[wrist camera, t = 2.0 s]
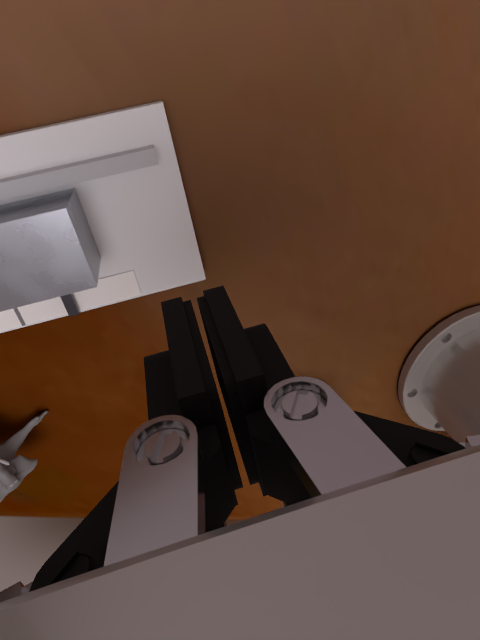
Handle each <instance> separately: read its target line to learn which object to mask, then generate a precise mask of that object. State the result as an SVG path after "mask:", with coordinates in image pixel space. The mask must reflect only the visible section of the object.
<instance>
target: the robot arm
mask: <svg viewBox="0 0 480 640" xmlns="http://www.w3.org/2000/svg"><path fill="white" fill-rule="evenodd" d="M203 293H204V296H203V297H199V298H197V301H198V305H199V309H200V313H201V316H202V320H203V324H204V328H205V332H206V336H207V339H208V343H209V347H210V351H211V355H212V359H213V362H214V366H215V370H216V374H217V378H218V381H219V385H220V388H221V392H222V395H223V398H224V401H225V404H226V408H227V411H228V414H229V417H230V421H231V424H232V427H233V430H234V434H235V437H236V440H237V443H238V447H239V450H240V453H241V456H242V460H243V463H244V466H245V469H246V473H247V476H248V479H249V482H250V485H252V484H255V483H258V482H259V484H260V487H261V490H262V493H263V496H266V495H269V496H271V497H274V498H276V499H279V500H281V501H283V505H284V507H283V508H280V509H277V510H274V511H271V512H268V513H264V514H261V515H258V516H255V517H252V518H249V519H246V520H243V521H240V522H238V523H234V524H231V525H228V526H227V523H226V520H227V518H228V517H229V515H230V513H231V512H232V510H233V509H234V507H235V506H236V505H238V503H237V499H236V495H235V491H234V490H236V489H239V488H242V487H243V485H242V481H241V477H240V474H239V470H238V466H237V462H236V459H235V455H234V451H233V447H232V444H231V440H230V436H229V432H228V429H227V425H226V421H225V417H224V414H223V410H222V406H221V402H220V399H219V395H218V391H217V388H216V384H215V381H214V377H213V374H212V371H211V367H210V364H209V361H208V357H207V354H206V350H205V347H204V344H203V340H202V337H201V334H200V330H199V327H198V323H197V320H196V317H195V313H194V310H193V307H192V303H191V300H188V301H185V302H183V301H182V298H181V297H179V298H175V299H171V300H167V301H164V302H161V305H162V311H163V317H164V323H165V329H166V335H167V341H168V347H169V350H167V351H164V352H160V353H157V354H153V355H149V356H146V357H144V366H145V379H146V392H147V405H148V418H149V421H148V422H146V423H144V424H142V425H141V426H140V427H139V428H138V429H136V430H135V431H134V432H133V434H132V435H131V436H130V438H129V439H128V442H127V444H126V447H125V451H124V457H123V462H122V468H121V473H120V479H119V481H118V482H117V483H116V484H115V486H114V487H113V488H112V489H111V490H110V491H109V492H108V493H107V494H106V496H105V497H104V498H103V499H102V500H101V501H100V502H99V503H98V504H97V506H96V507H95V508H94V509H93V510H92V511H91V512H90V513H89V514H88V515H87V517H86V518H85V519H84V520H83V521H82V522H81V524H79V526H78V527H77V528H76V529H75V530H74V531H73V532H72V533H71V534H70V535H69V537H68V538H67V539H66V540H65V541H64V542H63V543H62V544H61V545H60V546H59V548H58V549H57V550H56V551H55V552H54V553H53V554H52V555H51V557H50V558H49V559H48V560H47V561H46V562H45V563H44V565H43V566H42V568H41V569H40V570H39V572H38V573H37V574H36V577H35V579H34V581H33V582H31V583H29V584H27V585H26V586H24V585H23V584H22V583H21V582H18V583H16V584H14V585H12V586H10V587H9V588H7V589H5V590H3V591H1V592H0V640H480V305H479V306H475V307H472V308H468V309H465V310H463V311H461V312H459V313H456V314H454V315H452V316H450V317H449V318H447V319H446V320H444V321H442V322H441V323H439V324H438V325H437V326H435V327H434V328H433V329H432V330H431V331H429V332H428V333H427V334H426V335H425V336H424V337H423V338H422V339H421V341H420V342H419V343H418V344H417V345H416V346H415V348H414V349H413V351H412V352H411V353H410V355H409V356H408V358H407V360H406V362H405V364H404V366H403V368H402V371H401V375H400V378H399V383H398V396H399V402H400V404H401V406H402V408H403V410H404V411H405V412H406V414H407V415H408V416H409V417H410V419H411V420H412V421H414V422H415V423H416V424H417V425H419V426H421V427H423V428H425V429H429V430H434V431H446V432H447V433H448V434H449V435H450V436H451V438H452V439H451V438H449V437H446V436H443V435H441V434H437V433H433V432H430V431H426V430H422V429H419V428H415V427H411V426H408V425H404V424H400V423H397V422H393V421H389V420H386V419H382V418H378V417H374V416H371V415H367V414H363V413H360V412H356V411H353V410H352V409H351V408H350V407H349V406H348V405H347V404H346V403H345V402H344V401H343V400H342V399H341V398H340V397H339V396H338V395H337V393H336V392H335V391H334V390H333V389H332V388H331V387H330V386H328V385H327V384H326V383H324V382H323V381H321V380H318V379H316V378H311V377H304V376H303V377H295V376H294V374H293V372H292V370H291V368H290V367H289V365H288V363H287V361H286V360H285V358H284V356H283V354H282V352H281V351H280V349H279V347H278V345H277V343H276V342H275V340H274V338H273V336H272V335H271V333H270V331H269V329H268V327H267V326H266V324H260V325H257V326H253V327H250V328H246V329H243V327H242V325H241V323H240V321H239V319H238V316H237V314H236V312H235V310H234V308H233V306H232V303H231V301H230V299H229V297H228V295H227V293H226V291H225V288H224V286H220V287H216V288H212V289H209V290H205V291H203Z"/></svg>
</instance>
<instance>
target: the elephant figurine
mask: <svg viewBox="0 0 480 640" xmlns="http://www.w3.org/2000/svg"><path fill="white" fill-rule="evenodd" d="M47 413H48V411H45V412H43V413H42V414H41V415H40V416H37V417H35V418H33V419H32V420H31V421H30V422H29V423H28V424H27V425H26V426H25V427H24V428H23V429H21V430H20V431H18V432H17V433H15V434H14V435H13V436H11V437H10V438H9V439H8V440H7V441H6V442H4V443H3V444H0V502H1V501H2V500H3V499H4V497H5V496H6V495H7V494H8V493H10V492H11V491H13V490H14V489H16V488H17V487H18V486H19V485H20V483H21V482H22V480H23V479H24V477H25V476H26V475H27V474H29V473H30V472H31V471H32V470H33V469H34V468H35V466H36V465H37V462H38V460H37V459H33V460H31V459H28V458H26V457H23V456H21V455H18V456H17V457H15V458H14V456H15V454H16V452H17V450H18V449H19V447H20V446H21V444H22V443H23V441H24V440H25V438H26V437H27V435H28V434H29V432H30V431H31V430H32V428H33V427H34V426H36V425H37V424H38V423H39V422H40V421H41V420H42V418H43V417H44V416H45V415H46V414H47Z"/></svg>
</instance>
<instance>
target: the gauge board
mask: <svg viewBox="0 0 480 640" xmlns="http://www.w3.org/2000/svg"><path fill="white" fill-rule="evenodd" d="M72 188H75V189H76V192H77V194H78V197H79V200H80V202H81V205H82V208H83V210H84V213H85V216H86V218H87V221H88V224H89V226H90V229H91V232H92V235H93V237H94V240H95V243H96V245H97V248H98V251H99V253H100V256H101V262H100V269H99V276H98V284H97V287H95V288H91V289H87V290H83V291H80V292H76V293H72V294H73V297H74V299H75V301H76V304H77V306H78V308H79V311H80V312H83V311H87V310H91V309H95V308H99V307H102V306H106V305H110V304H114V303H118V302H122V301H125V300H129V299H133V298H137V297H141V296H145V295H148V294H152V293H156V292H160V291H164V290H168V289H171V288H175V287H179V286H183V285H187V284H191V283H194V282H198V281H202V280H206V278H205V274H204V270H203V265H202V261H201V257H200V253H199V249H198V245H197V241H196V237H195V232H194V228H193V224H192V220H191V216H190V212H189V208H188V204H187V199H186V195H185V191H184V187H183V183H182V179H181V175H180V171H179V166H178V162H177V158H176V154H175V150H174V146H173V142H172V138H171V133H170V129H169V125H168V121H167V117H166V113H165V109H164V105H163V102H162V101H156V102H152V103H147V104H142V105H138V106H133V107H129V108H124V109H119V110H115V111H110V112H106V113H101V114H96V115H92V116H87V117H82V118H78V119H73V120H69V121H64V122H59V123H55V124H50V125H46V126H41V127H36V128H32V129H27V130H23V131H18V132H13V133H9V134H4V135H0V205H3V204H7V203H11V202H16V201H20V200H24V199H29V198H33V197H37V196H42V195H46V194H50V193H54V192H59V191H63V190H67V189H72ZM64 316H68V313H67V311H66V308H65V306H64V304H63V302H62V300H61V297H56V298H52V299H48V300H44V301H40V302H37V303H33V304H29V305H25V306H21V307H17V308H13V309H9V310H5V311H1V312H0V333H3V332H6V331H10V330H14V329H18V328H22V327H26V326H29V325H33V324H37V323H41V322H45V321H49V320H52V319H56V318H60V317H64Z"/></svg>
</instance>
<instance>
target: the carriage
mask: <svg viewBox="0 0 480 640" xmlns="http://www.w3.org/2000/svg"><path fill="white" fill-rule="evenodd" d="M100 262H101V256H100V253H99V251H98V248H97V245H96V243H95V240H94V237H93V235H92V232H91V229H90V226H89V224H88V221H87V218H86V216H85V213H84V210H83V208H82V205H81V202H80V200H79V197H78V194H77V192H76V189H75V188H72V189H67V190H63V191H59V192H54V193H50V194H46V195H42V196H37V197H33V198H29V199H24V200H20V201H16V202H11V203H7V204H3V205H0V312H1V311H5V310H9V309H13V308H17V307H21V306H25V305H29V304H33V303H37V302H40V301H44V300H48V299H52V298H56V297H61V300H62V302H63V304H64V306H65V308H66V311H67V313H68V315H69V317H71V316H74V315H78V314H80V311H79V308H78V306H77V304H76V301H75V299H74V297H73V294H72V293H76V292H80V291H83V290H87V289H91V288H95V287H97V284H98V276H99V269H100Z"/></svg>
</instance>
